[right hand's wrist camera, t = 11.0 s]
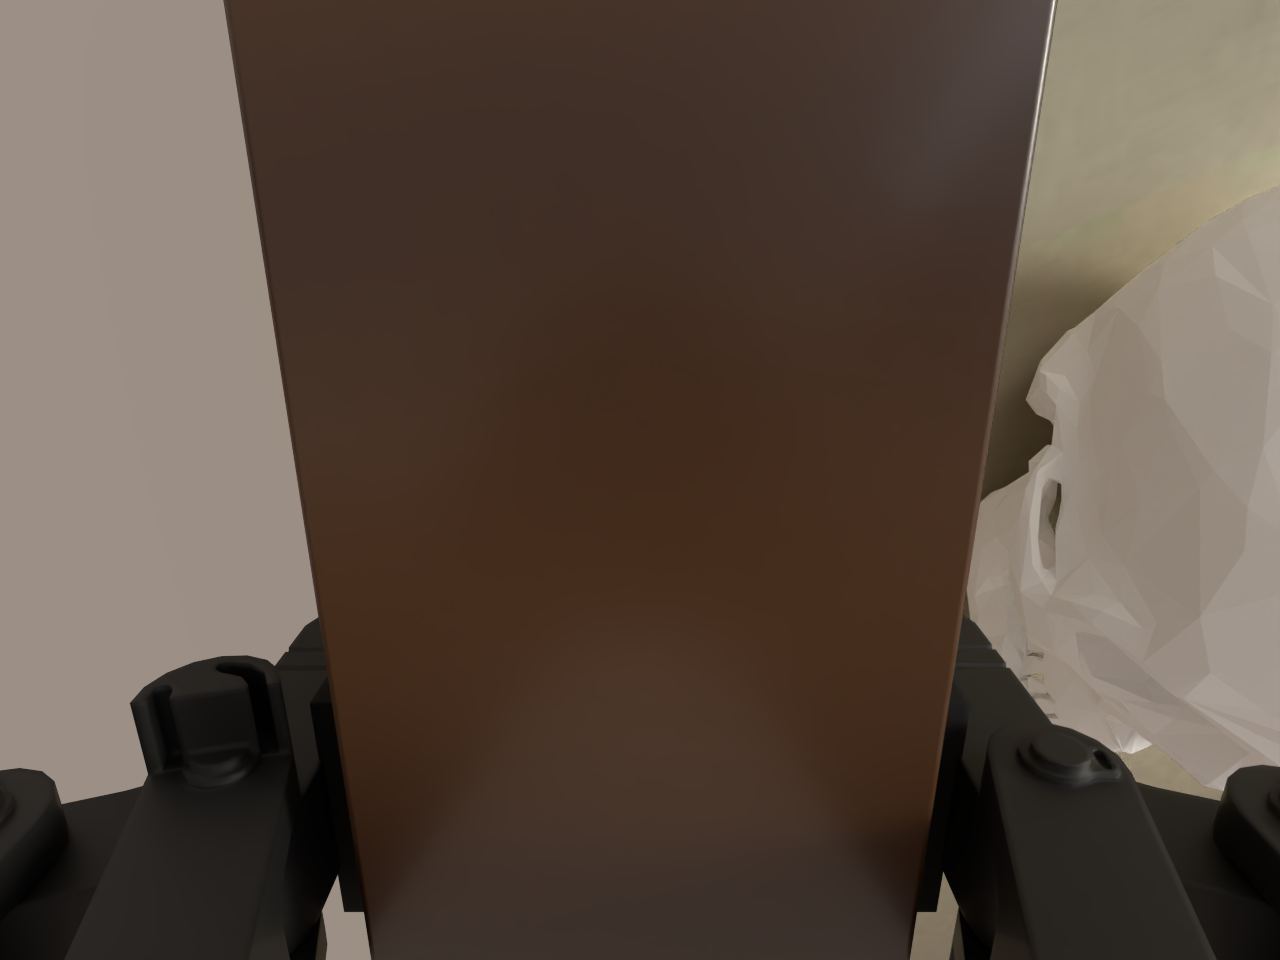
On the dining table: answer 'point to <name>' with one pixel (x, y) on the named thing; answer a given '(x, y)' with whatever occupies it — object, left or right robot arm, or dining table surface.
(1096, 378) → the skull
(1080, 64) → the dining table surface
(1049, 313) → the dining table surface
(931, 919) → the dining table surface
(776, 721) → the walnut block
